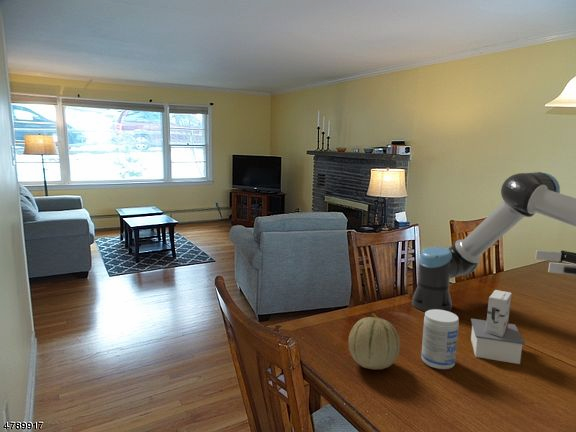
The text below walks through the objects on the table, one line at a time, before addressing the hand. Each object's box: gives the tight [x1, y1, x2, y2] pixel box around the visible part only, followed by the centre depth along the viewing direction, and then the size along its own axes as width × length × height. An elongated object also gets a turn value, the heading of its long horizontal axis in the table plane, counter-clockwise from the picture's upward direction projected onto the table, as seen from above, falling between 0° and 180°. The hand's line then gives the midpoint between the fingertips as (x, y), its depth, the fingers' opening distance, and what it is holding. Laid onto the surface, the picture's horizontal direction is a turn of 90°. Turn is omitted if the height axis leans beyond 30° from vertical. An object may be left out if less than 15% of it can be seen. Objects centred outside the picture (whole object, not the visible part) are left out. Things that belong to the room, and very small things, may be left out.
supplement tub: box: [420, 309, 460, 370], centre depth 115 cm, size 10×10×15 cm
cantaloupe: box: [348, 313, 401, 370], centre depth 112 cm, size 15×15×15 cm
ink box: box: [485, 289, 512, 337], centre depth 121 cm, size 9×5×12 cm, turn 141°
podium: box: [470, 318, 526, 365], centre depth 123 cm, size 13×13×7 cm
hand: (542, 260), depth 115 cm, fingers open, 13 cm apart
